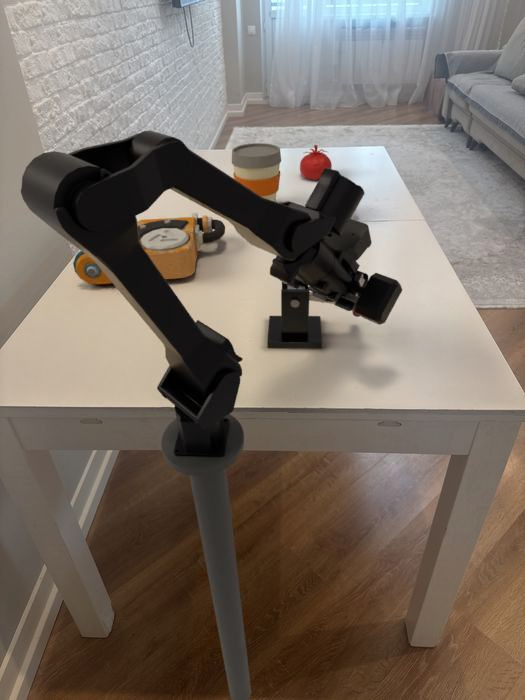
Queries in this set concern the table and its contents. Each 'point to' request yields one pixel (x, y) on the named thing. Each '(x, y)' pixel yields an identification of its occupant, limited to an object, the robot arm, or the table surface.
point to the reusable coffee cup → (258, 168)
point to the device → (163, 246)
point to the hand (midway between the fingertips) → (356, 300)
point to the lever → (313, 298)
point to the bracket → (294, 322)
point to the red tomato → (314, 164)
